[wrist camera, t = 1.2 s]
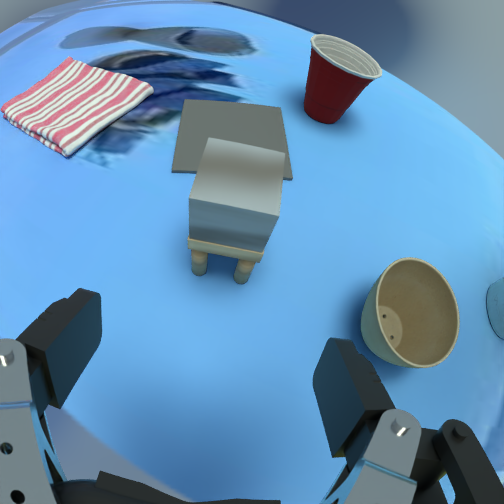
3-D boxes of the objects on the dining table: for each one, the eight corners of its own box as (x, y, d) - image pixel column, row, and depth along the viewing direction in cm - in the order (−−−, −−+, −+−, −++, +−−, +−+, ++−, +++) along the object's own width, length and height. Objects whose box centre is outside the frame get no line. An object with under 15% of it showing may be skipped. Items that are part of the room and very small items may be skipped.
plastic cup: (339, 147, 40) (374, 81, 29) (276, 109, 41) (297, 41, 30) (361, 118, 45) (391, 63, 34) (307, 86, 46) (328, 30, 35)
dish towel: (72, 68, 41) (69, 53, 38) (156, 96, 39) (155, 77, 36) (2, 120, 33) (-4, 105, 30) (71, 165, 31) (63, 146, 28)
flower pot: (411, 288, 31) (450, 263, 25) (417, 373, 27) (464, 362, 21) (336, 280, 30) (371, 249, 24) (338, 378, 26) (380, 371, 19)
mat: (279, 109, 41) (280, 107, 41) (291, 180, 35) (292, 178, 35) (184, 101, 39) (184, 99, 38) (171, 172, 33) (171, 170, 32)
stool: (248, 286, 28) (280, 217, 18) (189, 275, 28) (186, 198, 17) (255, 235, 31) (286, 152, 20) (201, 224, 30) (207, 136, 20)
